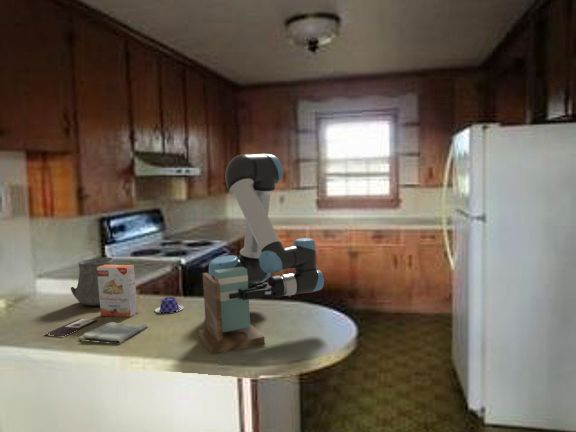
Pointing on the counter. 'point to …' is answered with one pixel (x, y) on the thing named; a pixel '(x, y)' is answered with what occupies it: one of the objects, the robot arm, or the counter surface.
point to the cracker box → (117, 290)
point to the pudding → (169, 305)
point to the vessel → (89, 281)
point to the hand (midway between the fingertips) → (216, 295)
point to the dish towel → (113, 332)
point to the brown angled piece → (213, 332)
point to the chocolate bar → (71, 327)
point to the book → (236, 309)
